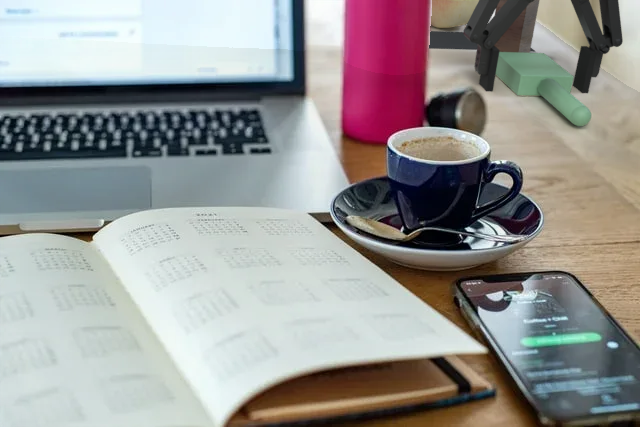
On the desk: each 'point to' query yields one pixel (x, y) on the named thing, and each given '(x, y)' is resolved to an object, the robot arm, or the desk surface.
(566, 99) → the brush
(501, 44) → the shelf stand
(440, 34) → the mat
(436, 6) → the apple
